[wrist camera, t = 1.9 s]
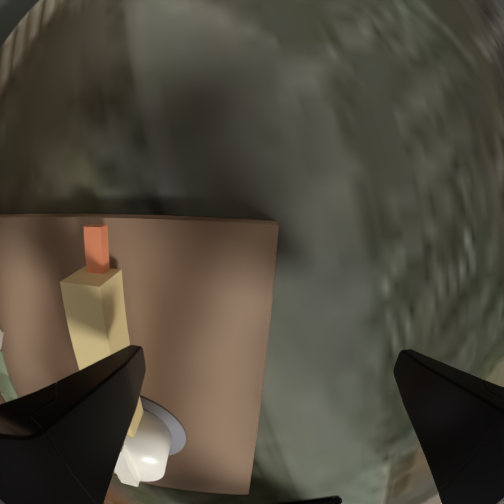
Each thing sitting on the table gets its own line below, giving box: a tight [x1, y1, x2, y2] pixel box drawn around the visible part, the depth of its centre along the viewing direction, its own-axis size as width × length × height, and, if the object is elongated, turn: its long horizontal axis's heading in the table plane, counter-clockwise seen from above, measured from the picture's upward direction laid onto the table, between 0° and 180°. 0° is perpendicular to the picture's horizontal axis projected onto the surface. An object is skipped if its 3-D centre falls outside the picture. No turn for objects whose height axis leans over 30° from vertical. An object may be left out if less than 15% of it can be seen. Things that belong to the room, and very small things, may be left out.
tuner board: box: [0, 214, 279, 495], centre depth 13 cm, size 22×20×1 cm
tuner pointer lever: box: [60, 224, 172, 487], centre depth 10 cm, size 14×4×3 cm, turn 176°
